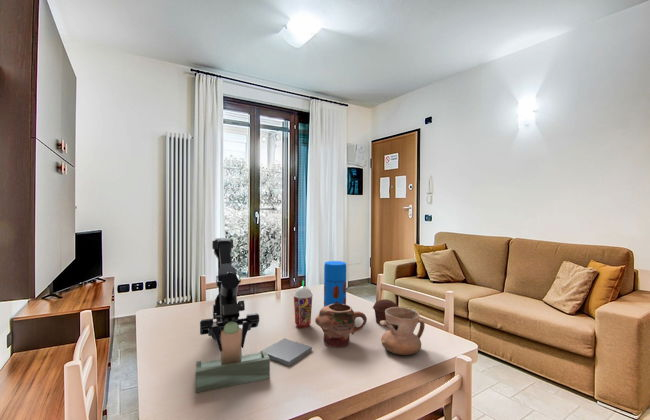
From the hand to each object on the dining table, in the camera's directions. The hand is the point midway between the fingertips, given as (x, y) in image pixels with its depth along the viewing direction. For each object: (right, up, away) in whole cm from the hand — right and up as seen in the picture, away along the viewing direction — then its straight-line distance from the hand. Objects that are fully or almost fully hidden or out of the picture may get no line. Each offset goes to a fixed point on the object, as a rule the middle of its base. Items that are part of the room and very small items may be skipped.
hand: (231, 349), depth 100 cm
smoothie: (+20, -7, +39) cm, 44 cm away
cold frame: (0, -7, -1) cm, 7 cm away
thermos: (+34, -7, +54) cm, 64 cm away
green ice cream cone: (-1, -5, +1) cm, 5 cm away
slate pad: (+16, -7, +13) cm, 22 cm away
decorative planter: (+36, -7, +23) cm, 43 cm away
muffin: (+57, -7, +44) cm, 72 cm away
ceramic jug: (+58, -8, +17) cm, 61 cm away
